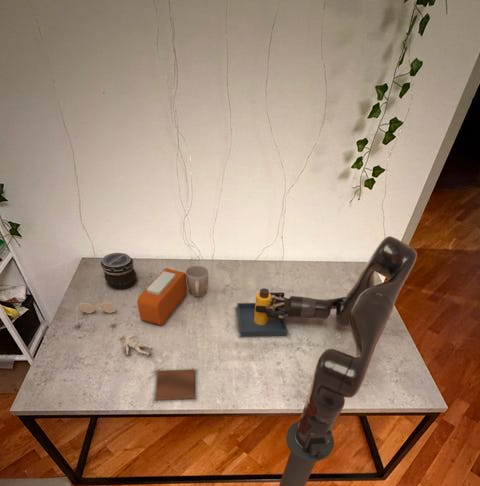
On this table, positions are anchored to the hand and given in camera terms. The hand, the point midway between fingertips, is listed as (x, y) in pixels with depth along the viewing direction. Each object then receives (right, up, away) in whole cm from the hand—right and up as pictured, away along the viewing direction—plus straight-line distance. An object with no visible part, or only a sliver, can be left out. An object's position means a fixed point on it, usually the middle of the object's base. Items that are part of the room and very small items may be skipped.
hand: (256, 303), depth 125 cm
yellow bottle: (+2, -5, +6) cm, 8 cm away
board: (-27, -32, -15) cm, 44 cm away
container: (-56, +15, +18) cm, 61 cm away
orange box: (-36, +1, +9) cm, 37 cm away
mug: (-23, +8, +15) cm, 29 cm away
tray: (+2, -5, +6) cm, 8 cm away
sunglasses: (-60, -5, +3) cm, 60 cm away
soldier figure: (-42, -18, -6) cm, 47 cm away
